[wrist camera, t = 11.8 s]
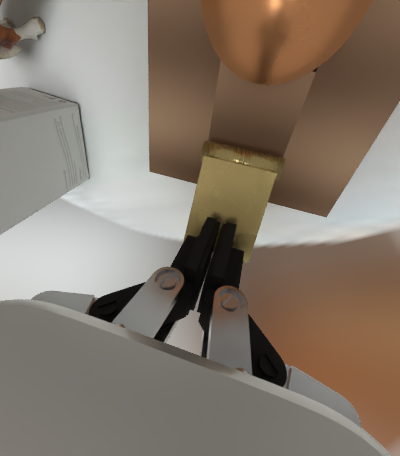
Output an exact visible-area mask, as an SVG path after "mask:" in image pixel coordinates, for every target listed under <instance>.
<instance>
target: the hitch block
mask: <svg viewBox="0 0 400 456" xmlns="http://www.w3.org/2000/svg"><path fill="white" fill-rule="evenodd" d="M148 64H149V161H150V172H153V173H157V174H161V175H165V176H169V177H173V178H177V179H180V180H184V181H188V182H192V183H196V184H197V183H198V179H199V174H200V170H201V166H202V162H201V151H202V147H203V144H204V141H205V140H208V141H212V142H217V143H221V144H226V145H230V146H234V147H239V148H243V149H247V150H252V151H256V152H261V153H265V154H269V155H274V156H278V157H282V158H285V162H284V166H283V169H282V172H281V174H280V177H279V179H278V180H275V181H274V184H273V187H272V190H271V193H270V196H269V200H268V202H269V203H273V204H277V205H281V206H285V207H289V208H292V209H296V210H300V211H304V212H308V213H312V214H316V215H319V216H323V217H327V215H328V214H329V212H330V211H331V209H332V207H333V206H334V204H335V203H336V201H337V199H338V198H339V196H340V195H341V193H342V192H343V190H344V188H345V187H346V185H347V184H348V182H349V180H350V179H351V177H352V176H353V174H354V172H355V171H356V169H357V168H358V166H359V165H360V163H361V161H362V160H363V158H364V157H365V155H366V153H367V152H368V150H369V149H370V147H371V145H372V144H373V142H374V141H375V139H376V138H377V136H378V134H379V133H380V131H381V130H382V128H383V126H384V125H385V123H386V122H387V120H388V118H389V117H390V115H391V114H392V112H393V111H394V109H395V107H396V106H397V104H398V103H399V101H400V0H373V2H372V4H371V6H370V7H369V9H368V11H367V12H366V14H365V16H364V17H363V19H362V21H361V22H360V24H359V25H358V26H357V28H356V29H355V30H354V32H353V33H352V35H351V36H350V37H349V38H348V39H347V41H346V42H345V43H344V44H343V45H342V46H341V48H340V49H338V50H337V51H336V52H335V53H334V54H333V55H332V56H331V57H330V58H329V59H328V60H327V61H325V62H324V63H323V64H322V65H320V66H319V67H318V68H316V69H314V70H313V71H311V72H310V73H308V74H306V75H304V76H302V77H300V78H298V79H295V80H293V81H290V82H286V83H282V84H276V85H263V84H256V83H252V82H249V81H247V80H244V79H242V78H240V77H239V76H237V75H236V74H234V73H233V72H232V71H231V70H230V69H228V68H227V67H226V66H225V64H224V63H223V62H222V61H221V60H220V58H219V57H218V55H217V53H216V52H215V50H214V48H213V46H212V44H211V42H210V39H209V36H208V33H207V30H206V27H205V23H204V18H203V13H202V5H201V0H148Z"/></svg>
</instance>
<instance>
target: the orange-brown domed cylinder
mask: <svg viewBox="0 0 400 456" xmlns="http://www.w3.org/2000/svg"><path fill="white" fill-rule="evenodd" d="M372 2H373V0H201V5H202V13H203V18H204V23H205V27H206V30H207V33H208V36H209V39H210V42H211V44H212V46H213V48H214V50H215V52H216V53H217V55H218V57H219V58H220V60H221V61H222V62H223V63H224V64H225V66H226V67H227V68H228V69H230V70H231V71H232V72H233V73H234V74H236V75H237V76H239V77H240V78H242V79H244V80H247V81H249V82H252V83H256V84H263V85H276V84H282V83H286V82H290V81H293V80H295V79H298V78H300V77H302V76H304V75H306V74H308V73H310V72H311V71H313V70H314V69H316V68H318V67H319V66H320V65H322V64H323V63H324V62H325V61H327V60H328V59H329V58H330V57H331V56H332V55H333V54H334V53H335V52H336V51H337V50H338V49H340V48H341V46H342V45H343V44H344V43H345V42H346V41H347V39H348V38H349V37H350V36H351V35H352V33H353V32H354V30H355V29H356V28H357V26H358V25H359V24H360V22H361V21H362V19H363V17H364V16H365V14H366V12H367V11H368V9H369V7H370V6H371V4H372Z"/></svg>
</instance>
